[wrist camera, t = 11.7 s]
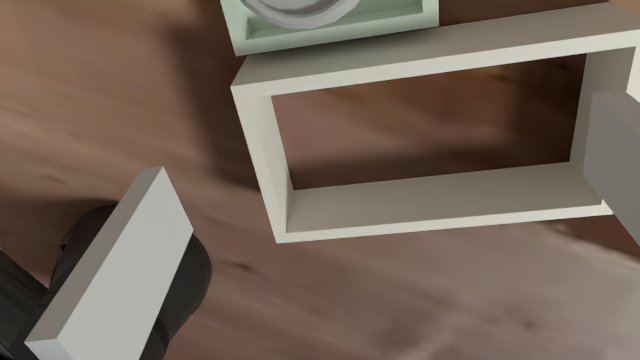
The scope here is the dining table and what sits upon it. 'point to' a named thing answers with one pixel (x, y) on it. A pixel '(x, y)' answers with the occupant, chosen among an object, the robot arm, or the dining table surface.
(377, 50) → the white rectangular frame
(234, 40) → the tray
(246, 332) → the dining table surface
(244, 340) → the dining table surface
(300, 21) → the can
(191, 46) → the dining table surface
